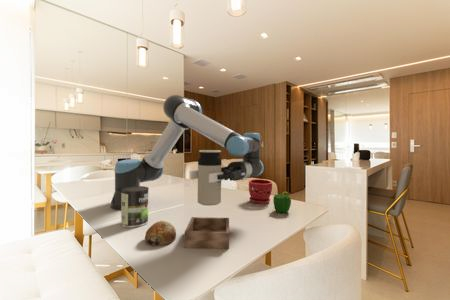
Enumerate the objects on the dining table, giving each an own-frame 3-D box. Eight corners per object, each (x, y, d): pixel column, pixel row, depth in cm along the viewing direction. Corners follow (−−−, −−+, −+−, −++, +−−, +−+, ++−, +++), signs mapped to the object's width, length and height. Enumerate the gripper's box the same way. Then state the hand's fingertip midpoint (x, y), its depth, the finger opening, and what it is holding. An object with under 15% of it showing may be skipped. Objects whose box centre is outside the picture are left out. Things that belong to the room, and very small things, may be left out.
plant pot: (243, 201, 125) (244, 180, 125) (258, 198, 134) (259, 178, 134) (261, 206, 115) (261, 184, 115) (276, 202, 124) (277, 181, 124)
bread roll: (177, 252, 74) (185, 228, 76) (152, 248, 67) (162, 222, 69) (161, 242, 80) (169, 220, 83) (136, 238, 73) (146, 215, 75)
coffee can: (153, 219, 93) (153, 186, 93) (139, 229, 83) (139, 192, 83) (131, 217, 95) (131, 185, 95) (115, 226, 85) (115, 190, 85)
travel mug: (192, 203, 75) (193, 150, 74) (207, 198, 81) (207, 149, 81) (211, 207, 70) (212, 151, 70) (225, 202, 77) (226, 150, 76)
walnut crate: (184, 247, 69) (184, 232, 69) (191, 230, 83) (191, 217, 83) (228, 248, 69) (229, 233, 69) (228, 230, 83) (228, 217, 83)
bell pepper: (269, 211, 108) (269, 191, 107) (278, 208, 114) (278, 188, 113) (284, 215, 102) (285, 194, 101) (293, 212, 108) (294, 191, 107)
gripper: (261, 182, 83) (224, 193, 65) (219, 176, 96) (178, 184, 78) (261, 163, 83) (225, 167, 65) (219, 159, 96) (178, 163, 78)
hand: (199, 176), depth 72 cm, fingers closed on travel mug, 8 cm apart
